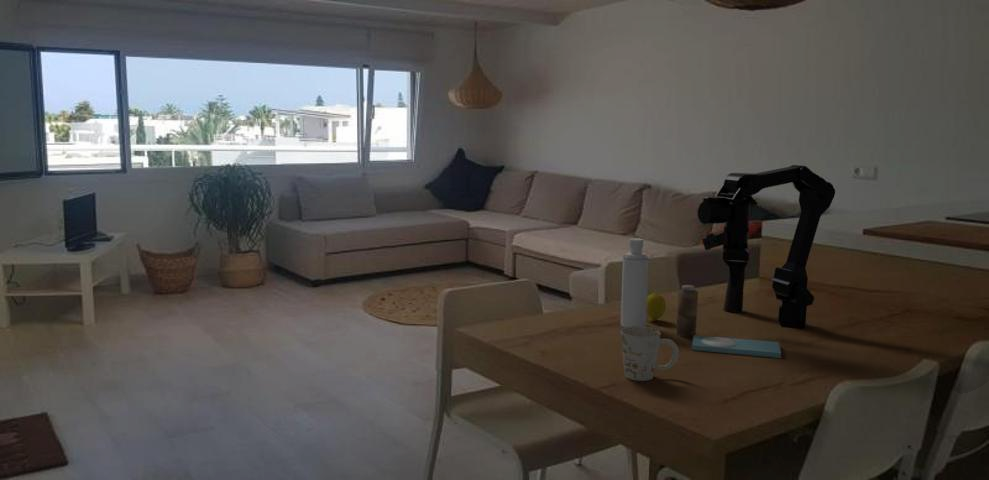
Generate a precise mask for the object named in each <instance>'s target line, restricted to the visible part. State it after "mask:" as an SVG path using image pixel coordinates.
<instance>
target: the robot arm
mask: <svg viewBox="0 0 989 480" xmlns="http://www.w3.org/2000/svg"><path fill="white" fill-rule="evenodd" d="M791 183H792V185H793V188H794V189H796V191H797V192H798V193H799V195H798V196H799V197H798V203H799V207H800V215H799V217H798V222H797V223H796V224H797V225H796V228H795V232H794V235H793V237H792V238H793V239H792V240H791V241H792V242H791V245H790V249H789V251H788V255H787V259H786V261H785V263H784V264H783V265H782V266H781V267H779V266H776V268H775V269H774V275H773V276H772V278H771V282H772V284H771V287H772V289H773V292H774V294H775V298H776V300H779V301H780V302H781V303H780V304H779V305H778V312H777V321H778V323H779V325H780V327H781V326H782V327H790V328H792V327H793V328H804V329H806V328H808V327H807V311H808V310H807V309H808V307H809V306H812V305H813V303H814V301H815V296H814V295H813V294H812V293H811V292H810V290H809V289H808V281H809V277H808V275H807V274H808V273H807V270H806V268H807V267H806V266H807V263H808V260H809V256H810V252H811V250H812V247H813V242H814V240H815V236H816V232H817V229H818V226H819V222H820V220H821V218H822V217H821V216H822V215H823V214H824V213H825V212H826V211H827V210H828V209H829V208H830V207H831V205H832V203H833V200H834V197H835V195H836V189H835V188H834V185H833V184H832V183H831V182H829V181H826V179H825V178H823V177H822V176H820V175H819V174H816V173H815V172H813V171H812V170H811V169H810V168H809V167H807V166H806V165H798V164H797V165H796V164H792V165H790V166H787V167H780V168H776V169H771V170H767V171H762V172H755V173H751V172H750V173H749V172H731V173H728V174H727V175H726V178H725V179H724V181H723V183H722V185H721V186H720V187H719V189H718V191H717V192H716V193H715V195H714V196H712V197H710V196H703V199H702V200H703V201H702V202H700V204H699V206H698V208H697V218H698V221H699V222H700V223H701V224H703V225H712V224H717V225H718V224H725V225H724V226H723V230H720V231H717V232H711V233H707V234H706V235H703V236H702V237H701V240H702V241H701V242H702V245H703V247H704V250H705V251H709V250H711V249H713V248H717V247H719V246H722V261H723V263H725V264H726V265H727V266H728V270H729V272H730V278H731V285H732V286H736V285H737V283H738V281H739V279H740V277H741V275H742V273H743V271H744V269H746V267H747V265H748V263H749V261H750V252H749V250H748V249H749V243H748V242H749V233H750V208H751V206H757V205H758V201H756V199H754V198H753V196H754V195H756V194H758V193H760V192H761V190H763V189H766V188H767V189H768V188H772V187H776V186H782V185H786V184H791Z"/></svg>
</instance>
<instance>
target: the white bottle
mask: <svg viewBox="0 0 989 480" xmlns="http://www.w3.org/2000/svg"><path fill="white" fill-rule="evenodd" d="M628 245H629V250H630V251H629V252H626V253H625V254H624V255H623V256H622V271H621V272H622V273H621V274H622V277H621V279H622V280H621V303H620V304H621V306H620V326H621V327H623V328H625V327H630V326H644V327H647V314H646V313H647V297H648V288H649V287H648V285H649V283H648V282H649V260H650V259H649V257H650V256H647V254H646V253H644V252H643V247H644V239H643V238H637V237H635V238H629V244H628Z"/></svg>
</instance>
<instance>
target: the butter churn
mask: <svg viewBox="0 0 989 480" xmlns="http://www.w3.org/2000/svg"><path fill="white" fill-rule="evenodd" d="M745 269H746V268H745ZM745 269H744V271H743V273H742V275H741V277H740V279H739V281H738V283H737V285H736V286H732V285H731V278H730V271H729V272H728V278H727V286H726V291H725V296H724V297H725V298H724V301H723V302H724V303H723V308H722V310H723V311H725V312H732V313H742V312H743V308H744V307H743V305H744V290H745V287H744V286H745V279H746V278H745V276H746V275H745V273H746V272H745V271H746V270H745Z"/></svg>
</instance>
